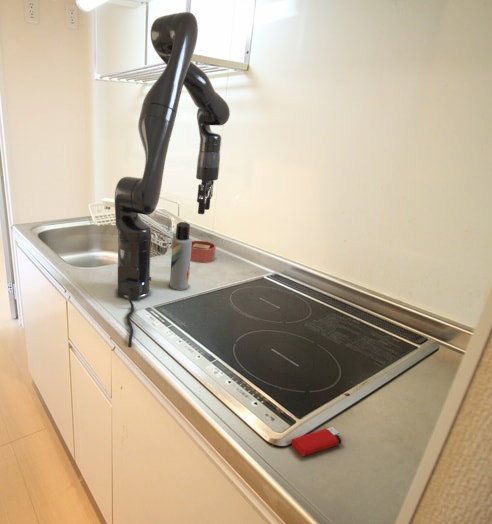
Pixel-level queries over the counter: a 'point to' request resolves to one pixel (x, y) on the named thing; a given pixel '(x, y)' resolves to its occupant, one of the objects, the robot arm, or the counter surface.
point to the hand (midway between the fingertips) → (203, 211)
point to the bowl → (203, 252)
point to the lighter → (316, 441)
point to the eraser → (201, 246)
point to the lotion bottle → (180, 257)
